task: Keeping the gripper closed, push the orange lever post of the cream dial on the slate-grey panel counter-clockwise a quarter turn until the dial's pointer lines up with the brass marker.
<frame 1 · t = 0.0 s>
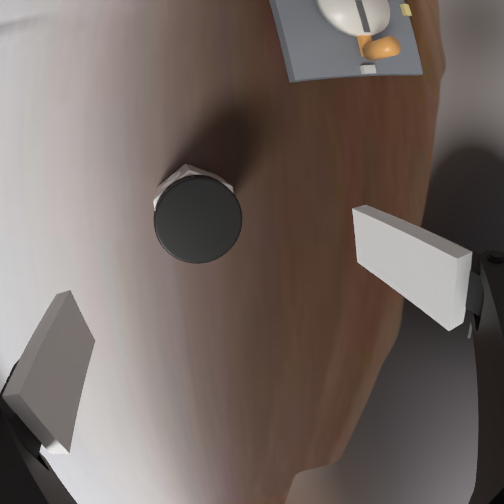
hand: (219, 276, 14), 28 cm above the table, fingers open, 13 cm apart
jar: (190, 198, 40), on the table
panel: (343, 8, 35), on the table
dial: (366, 8, 31), point 6 cm above the table, hinge at 0.0°
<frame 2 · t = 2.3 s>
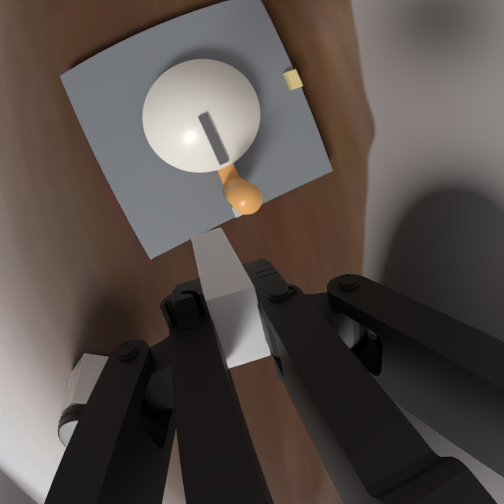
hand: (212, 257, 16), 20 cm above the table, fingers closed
jar: (101, 375, 39), on the table
panel: (198, 117, 31), on the table
dial: (212, 132, 27), point 6 cm above the table, hinge at 0.0°
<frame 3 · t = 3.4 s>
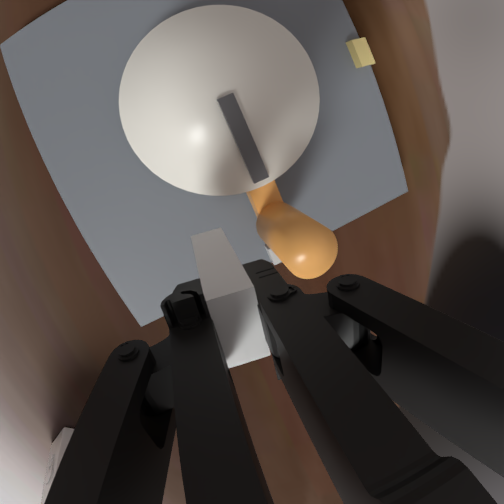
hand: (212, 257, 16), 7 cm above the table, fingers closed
jar: (89, 448, 27), on the table
panel: (213, 102, 19), on the table
dial: (243, 125, 15), point 6 cm above the table, hinge at 0.0°
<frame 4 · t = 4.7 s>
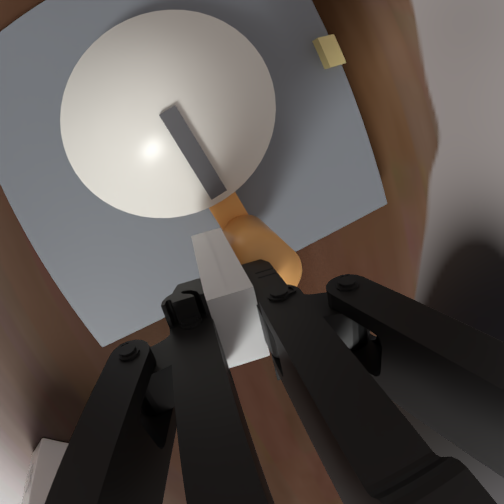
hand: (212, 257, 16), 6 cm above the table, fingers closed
jar: (68, 459, 26), on the table
panel: (167, 115, 18), on the table
dial: (186, 140, 14), point 6 cm above the table, hinge at 6.1°, touching gripper
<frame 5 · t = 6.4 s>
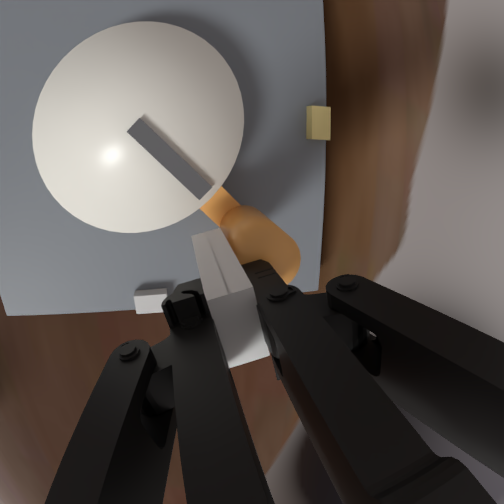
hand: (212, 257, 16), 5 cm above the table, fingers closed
panel: (140, 127, 18), on the table
dial: (157, 149, 13), point 6 cm above the table, hinge at 43.3°, touching gripper
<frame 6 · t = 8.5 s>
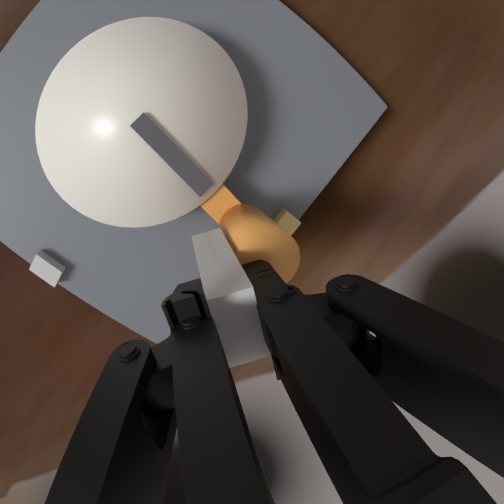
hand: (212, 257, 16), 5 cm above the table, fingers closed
panel: (143, 122, 18), on the table
dial: (160, 144, 13), point 6 cm above the table, hinge at 81.2°, touching gripper
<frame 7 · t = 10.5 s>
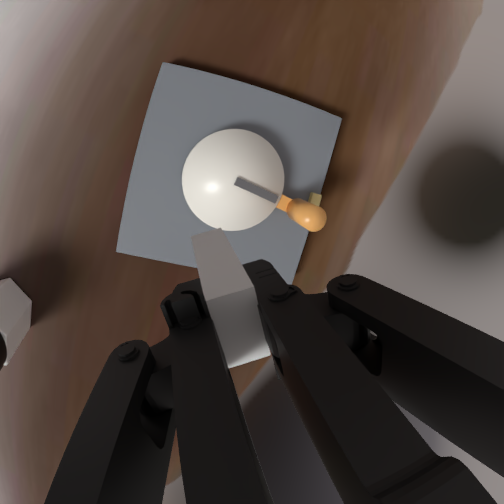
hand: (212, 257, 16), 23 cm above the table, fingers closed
jar: (9, 304, 36), on the table
panel: (228, 177, 38), on the table
dial: (253, 189, 33), point 6 cm above the table, hinge at 80.3°
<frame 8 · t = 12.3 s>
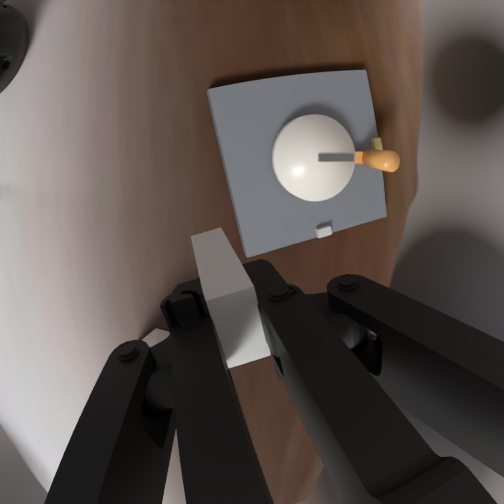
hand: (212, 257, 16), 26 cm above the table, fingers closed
panel: (304, 155, 42), on the table
dial: (336, 158, 38), point 6 cm above the table, hinge at 80.3°
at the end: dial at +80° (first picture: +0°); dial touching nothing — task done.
